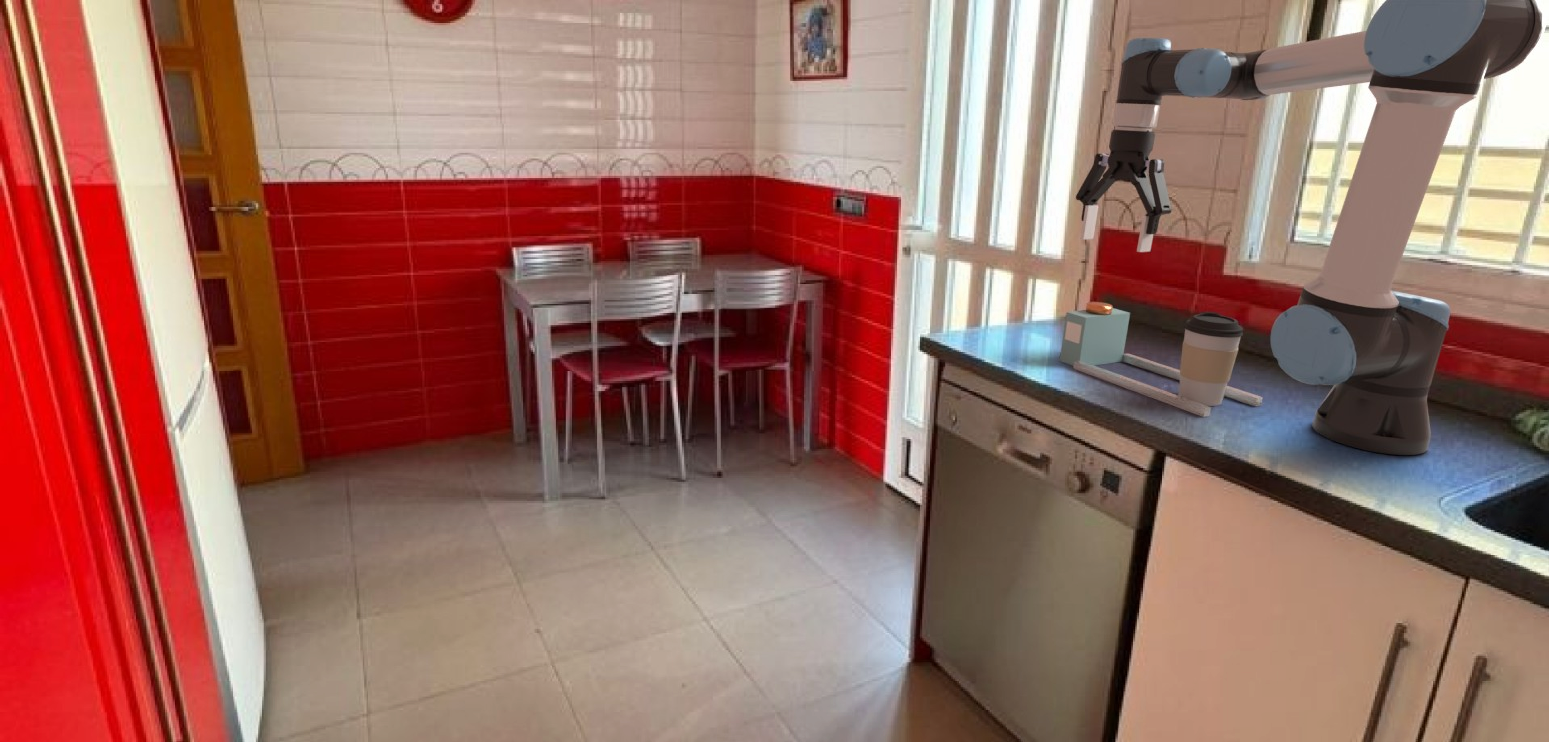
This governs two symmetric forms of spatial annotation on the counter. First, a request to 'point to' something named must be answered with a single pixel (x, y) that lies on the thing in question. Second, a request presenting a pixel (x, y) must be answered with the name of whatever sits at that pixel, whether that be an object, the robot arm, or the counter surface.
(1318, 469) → the counter surface
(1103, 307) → the knob
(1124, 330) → the cabinet
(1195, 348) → the coffee cup
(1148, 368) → the parallel base rails
